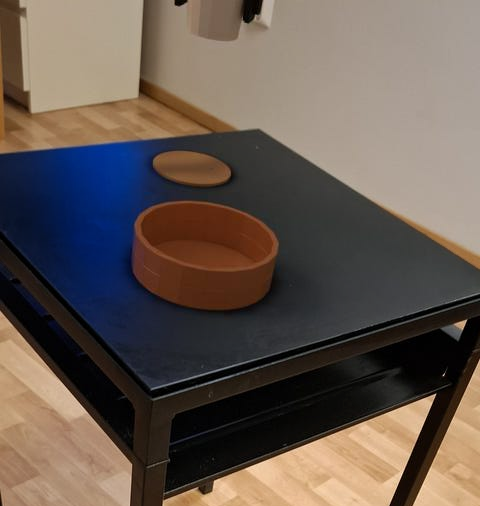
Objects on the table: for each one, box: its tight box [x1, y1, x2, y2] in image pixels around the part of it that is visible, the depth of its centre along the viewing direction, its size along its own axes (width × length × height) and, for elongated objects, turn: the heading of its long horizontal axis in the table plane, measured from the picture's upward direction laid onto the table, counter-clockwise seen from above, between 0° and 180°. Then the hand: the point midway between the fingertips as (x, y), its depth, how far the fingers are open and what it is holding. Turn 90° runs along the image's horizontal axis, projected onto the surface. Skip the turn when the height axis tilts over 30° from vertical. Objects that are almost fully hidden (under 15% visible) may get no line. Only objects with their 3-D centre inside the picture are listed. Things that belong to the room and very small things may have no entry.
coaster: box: [152, 150, 232, 188], centre depth 94 cm, size 10×10×1 cm
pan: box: [130, 200, 280, 311], centre depth 74 cm, size 14×14×4 cm
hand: (215, 10), depth 79 cm, fingers closed on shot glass, 6 cm apart
